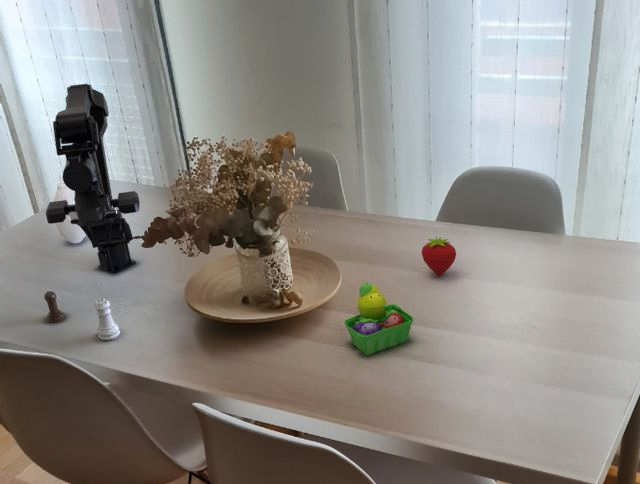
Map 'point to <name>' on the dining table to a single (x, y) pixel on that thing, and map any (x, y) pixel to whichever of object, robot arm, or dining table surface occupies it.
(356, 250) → the dining table surface
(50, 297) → the walnut pawn
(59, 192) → the sauce bottle
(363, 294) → the fruit basket
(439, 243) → the strawberry
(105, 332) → the rook chess piece
